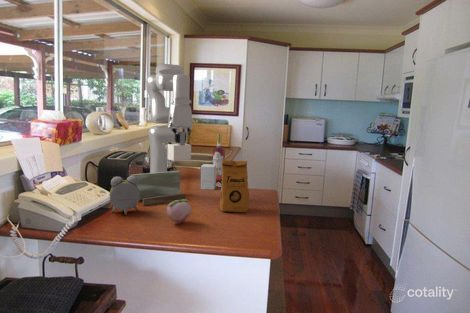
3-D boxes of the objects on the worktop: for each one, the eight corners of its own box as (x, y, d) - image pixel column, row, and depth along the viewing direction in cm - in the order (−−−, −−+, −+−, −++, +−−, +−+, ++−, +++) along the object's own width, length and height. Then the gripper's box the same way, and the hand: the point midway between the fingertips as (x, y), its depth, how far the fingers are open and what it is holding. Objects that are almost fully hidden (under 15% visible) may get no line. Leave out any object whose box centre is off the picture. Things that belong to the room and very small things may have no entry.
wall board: (131, 200, 159) (130, 174, 157) (178, 194, 173) (178, 170, 171) (139, 206, 150) (139, 179, 149) (188, 199, 164) (189, 174, 162)
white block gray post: (167, 159, 161) (167, 131, 160) (184, 158, 167) (185, 131, 165) (173, 161, 157) (173, 132, 155) (190, 159, 162) (191, 131, 160)
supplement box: (216, 186, 191) (216, 164, 190) (213, 190, 184) (214, 166, 182) (202, 186, 192) (203, 163, 190) (200, 189, 185) (200, 165, 183)
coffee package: (248, 214, 145) (251, 162, 142) (219, 213, 145) (220, 161, 141) (248, 207, 155) (250, 159, 151) (220, 206, 155) (221, 158, 151)
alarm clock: (139, 209, 147) (138, 174, 144) (140, 214, 140) (140, 177, 138) (109, 211, 142) (109, 175, 140) (110, 216, 136) (109, 179, 134)
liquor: (225, 180, 208) (227, 134, 204) (222, 183, 201) (223, 134, 197) (214, 179, 210) (215, 133, 206) (210, 181, 203) (211, 134, 199)
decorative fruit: (180, 218, 137) (180, 193, 136) (194, 223, 132) (195, 197, 131) (161, 223, 130) (161, 197, 129) (175, 229, 125) (176, 202, 123)
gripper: (192, 102, 165) (191, 141, 168) (161, 101, 155) (160, 142, 158) (200, 103, 159) (199, 142, 162) (168, 101, 149) (168, 144, 152)
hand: (180, 142), depth 160 cm, fingers closed on white block gray post, 2 cm apart
